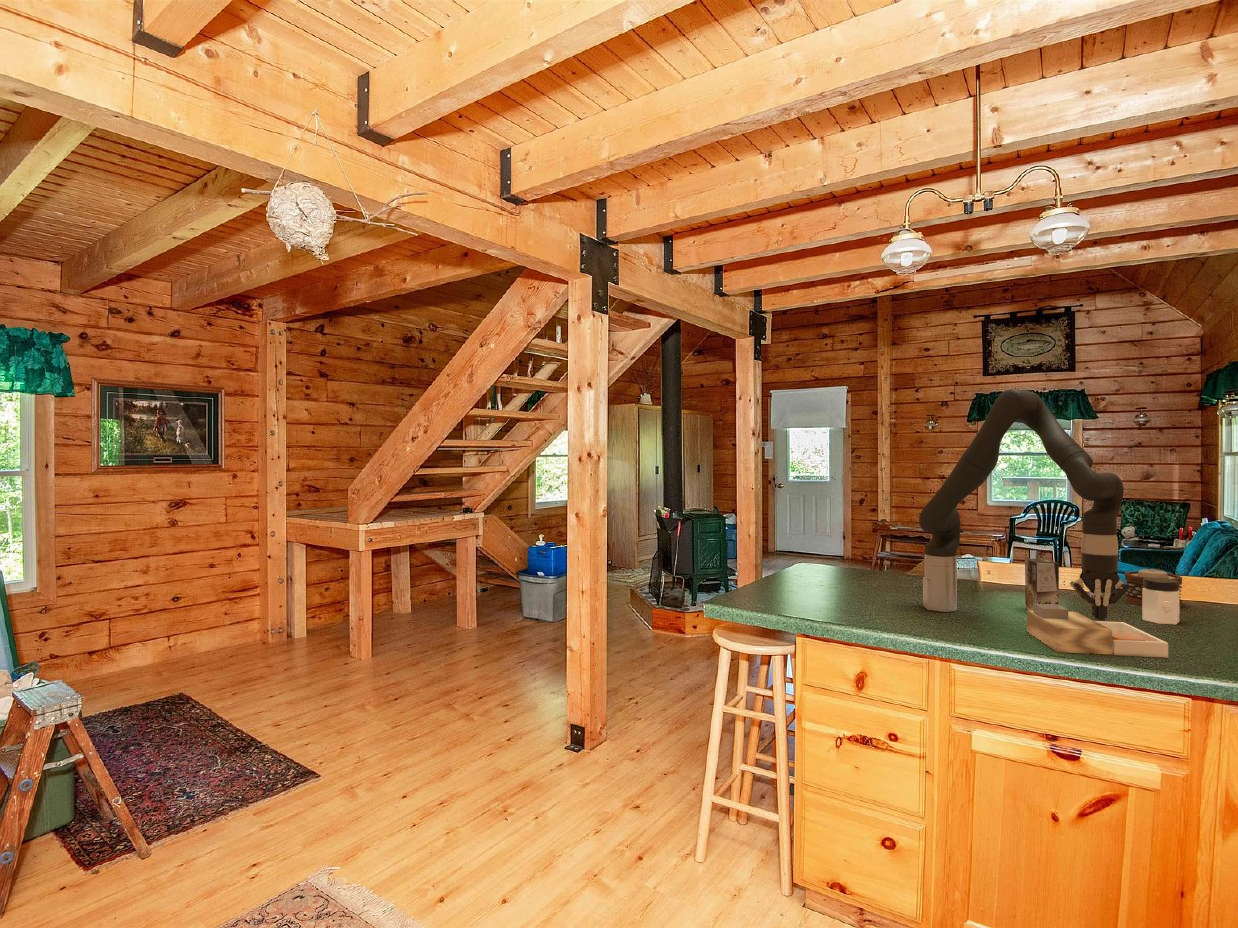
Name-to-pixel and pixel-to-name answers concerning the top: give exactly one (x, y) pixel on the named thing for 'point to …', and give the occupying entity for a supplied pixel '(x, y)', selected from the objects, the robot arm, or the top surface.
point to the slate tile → (1051, 611)
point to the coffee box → (1041, 582)
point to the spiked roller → (1136, 584)
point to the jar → (1160, 600)
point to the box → (1136, 642)
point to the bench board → (1071, 633)
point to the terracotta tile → (1126, 637)
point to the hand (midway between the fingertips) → (1099, 619)
